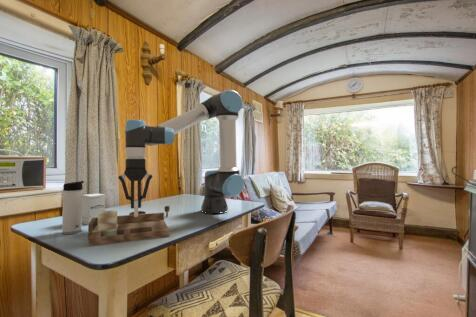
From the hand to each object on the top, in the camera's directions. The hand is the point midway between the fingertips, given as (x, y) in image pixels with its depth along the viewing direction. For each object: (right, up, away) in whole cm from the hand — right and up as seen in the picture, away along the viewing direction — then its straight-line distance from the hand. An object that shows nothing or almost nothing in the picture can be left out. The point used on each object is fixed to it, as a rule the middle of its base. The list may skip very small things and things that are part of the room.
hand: (136, 215), depth 96 cm
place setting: (-1, -7, +14) cm, 16 cm away
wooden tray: (0, -6, -5) cm, 8 cm away
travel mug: (-23, -6, -4) cm, 24 cm away
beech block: (-9, -3, -5) cm, 11 cm away
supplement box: (-25, -6, +11) cm, 28 cm away
